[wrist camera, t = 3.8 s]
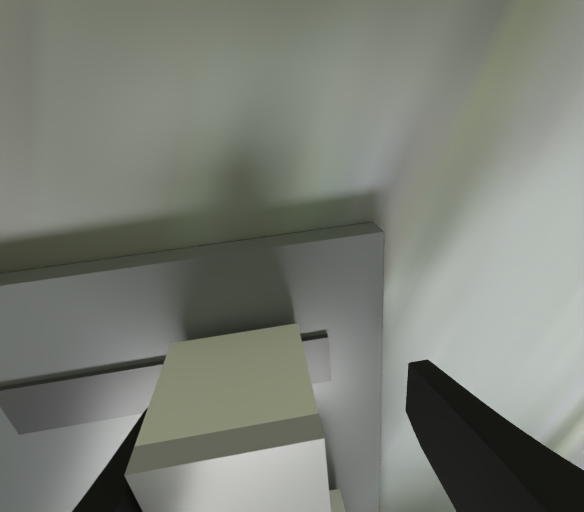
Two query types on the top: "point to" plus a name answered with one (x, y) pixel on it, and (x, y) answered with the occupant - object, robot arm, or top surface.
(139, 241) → the top surface
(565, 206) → the top surface
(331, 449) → the switch console
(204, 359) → the slider
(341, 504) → the slider
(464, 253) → the top surface
